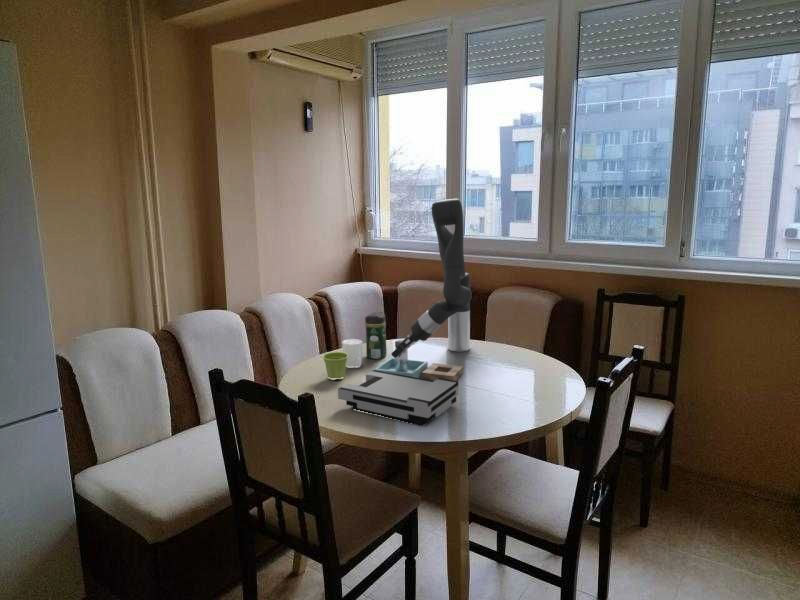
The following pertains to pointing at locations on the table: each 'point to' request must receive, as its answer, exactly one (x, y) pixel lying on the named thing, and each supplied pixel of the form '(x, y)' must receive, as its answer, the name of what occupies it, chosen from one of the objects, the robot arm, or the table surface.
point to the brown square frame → (442, 372)
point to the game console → (401, 396)
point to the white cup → (353, 351)
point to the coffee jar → (375, 335)
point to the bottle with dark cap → (401, 359)
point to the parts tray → (413, 367)
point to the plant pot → (335, 364)
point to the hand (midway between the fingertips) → (397, 352)
